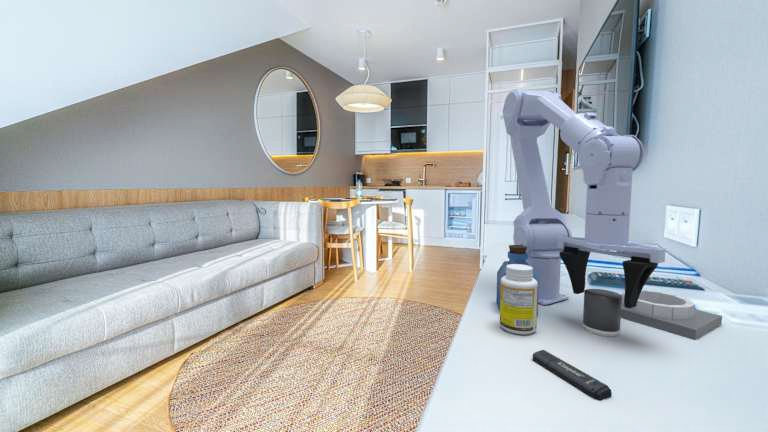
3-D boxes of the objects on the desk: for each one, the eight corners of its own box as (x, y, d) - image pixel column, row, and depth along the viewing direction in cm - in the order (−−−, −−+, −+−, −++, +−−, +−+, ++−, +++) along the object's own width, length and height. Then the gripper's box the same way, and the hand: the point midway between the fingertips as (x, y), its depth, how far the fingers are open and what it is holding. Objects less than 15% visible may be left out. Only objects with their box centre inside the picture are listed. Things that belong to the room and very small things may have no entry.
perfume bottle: (537, 316, 59) (540, 249, 58) (500, 314, 60) (502, 248, 59) (529, 304, 65) (531, 244, 64) (496, 302, 66) (498, 243, 65)
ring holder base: (596, 310, 61) (597, 291, 61) (626, 300, 67) (627, 283, 67) (695, 339, 49) (697, 317, 49) (721, 324, 55) (723, 304, 55)
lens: (576, 327, 54) (577, 291, 53) (592, 321, 56) (594, 287, 56) (609, 339, 50) (611, 300, 49) (626, 332, 52) (628, 295, 52)
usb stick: (529, 361, 44) (529, 350, 44) (544, 358, 45) (545, 347, 45) (596, 405, 35) (597, 391, 35) (613, 399, 36) (614, 386, 36)
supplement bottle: (513, 319, 57) (515, 261, 56) (543, 330, 53) (546, 267, 52) (492, 326, 54) (493, 265, 53) (522, 339, 50) (524, 272, 49)
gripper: (548, 212, 56) (545, 291, 57) (651, 218, 43) (645, 319, 44) (572, 210, 59) (569, 285, 60) (674, 216, 47) (667, 309, 48)
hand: (602, 299), depth 52 cm, fingers open, 7 cm apart
